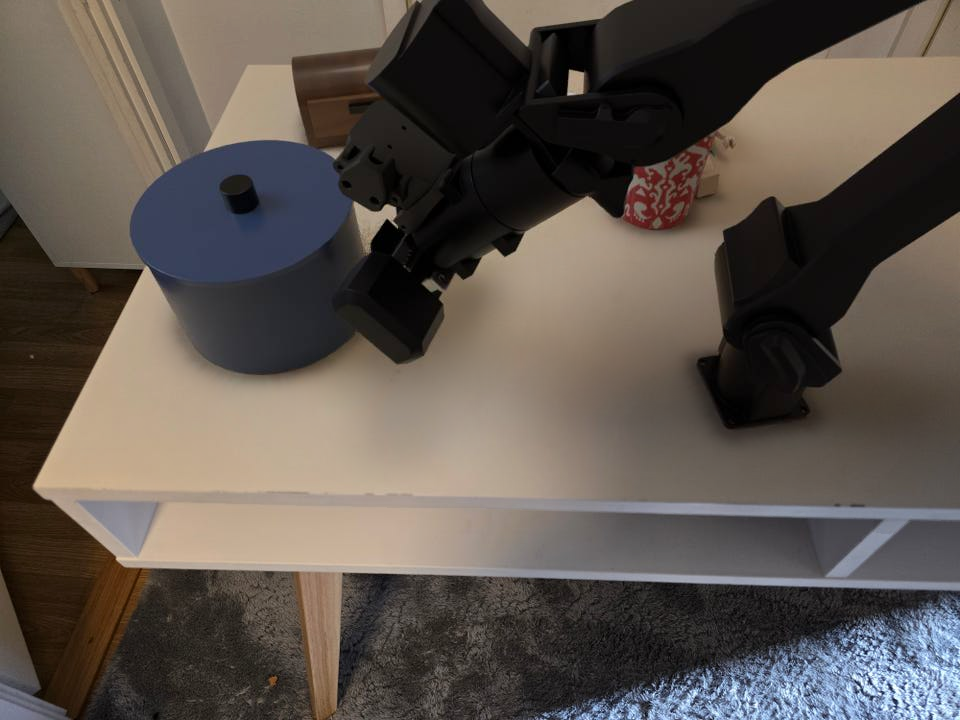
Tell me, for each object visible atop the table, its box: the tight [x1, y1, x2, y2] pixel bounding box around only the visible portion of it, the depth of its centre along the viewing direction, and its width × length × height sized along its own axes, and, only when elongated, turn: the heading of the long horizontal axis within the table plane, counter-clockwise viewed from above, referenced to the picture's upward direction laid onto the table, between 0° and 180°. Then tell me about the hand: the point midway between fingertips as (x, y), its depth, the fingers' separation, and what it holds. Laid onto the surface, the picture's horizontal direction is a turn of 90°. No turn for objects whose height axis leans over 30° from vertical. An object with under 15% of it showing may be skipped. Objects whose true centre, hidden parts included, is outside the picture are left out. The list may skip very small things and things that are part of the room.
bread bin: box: [291, 46, 386, 149], centre depth 72 cm, size 8×14×8 cm, turn 100°
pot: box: [129, 139, 366, 375], centre depth 54 cm, size 16×16×12 cm
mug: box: [621, 130, 718, 230], centre depth 61 cm, size 13×9×14 cm
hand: (371, 276), depth 52 cm, fingers closed
